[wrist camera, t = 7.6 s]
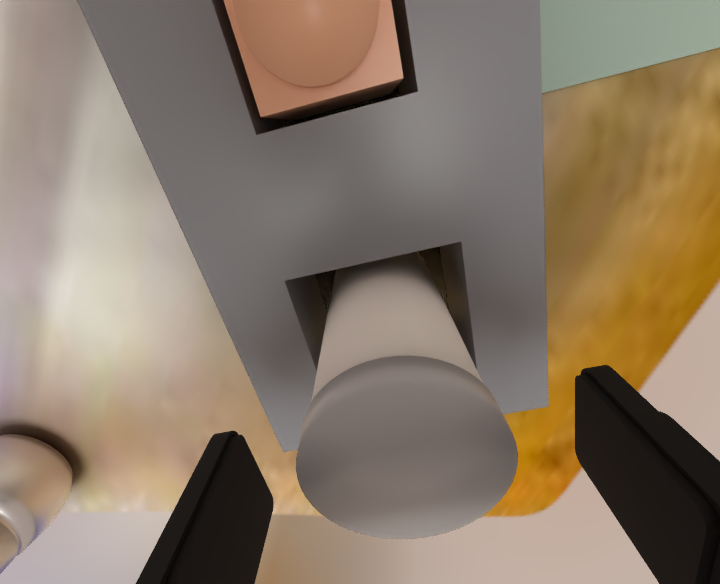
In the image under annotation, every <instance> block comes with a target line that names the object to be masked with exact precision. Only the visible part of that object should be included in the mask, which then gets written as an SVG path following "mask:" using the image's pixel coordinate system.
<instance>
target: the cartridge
mask: <svg viewBox="0 0 720 584" xmlns="http://www.w3.org/2000/svg"><path fill="white" fill-rule="evenodd" d="M517 464H518V452H517V446H516V442H515V439H514V437H513V434H512V432H511V430H510V428H509V426H508V424H507V422H506V420H505V418H504V416H503V414H502V412H501V410H500V408H499V406H498V404H497V402H496V400H495V398H494V397H493V395H492V393H491V392H490V391H489V389H488V388H487V387H486V386H485V385H484V384H483V382H482V380H481V378H480V376H479V373H478V371H477V369H476V367H475V365H474V363H473V361H472V359H471V357H470V355H469V353H468V350H467V348H466V346H465V344H464V342H463V340H462V338H461V336H460V334H459V332H458V330H457V328H456V325H455V323H454V321H453V319H452V317H451V315H450V313H449V311H448V309H447V307H446V305H445V302H444V300H443V298H442V296H441V294H440V292H439V290H438V288H437V286H436V284H435V282H434V279H433V277H432V275H431V273H430V271H429V269H428V267H427V265H426V263H425V261H424V260H423V258H422V257H421V256H420V254H419V253H418V252H417V251H416V252H412V253H407V254H403V255H398V256H394V257H389V258H385V259H380V260H376V261H371V262H367V263H362V264H358V265H353V266H349V267H344V268H340V269H336V272H335V276H334V281H333V287H332V292H331V298H330V303H329V308H328V314H327V319H326V325H325V330H324V335H323V341H322V346H321V352H320V357H319V362H318V368H317V373H316V379H315V384H314V389H313V395H312V400H311V404H310V405H309V407H308V410H307V412H306V415H305V418H304V423H303V427H302V432H301V437H300V443H299V448H298V453H297V458H296V472H297V478H298V481H299V484H300V487H301V489H302V491H303V493H304V495H305V497H306V498H307V499H308V501H309V502H310V503H311V504H312V506H313V507H314V508H315V509H317V510H318V511H319V512H320V513H321V514H322V515H324V516H325V517H326V518H328V519H329V520H331V521H332V522H334V523H336V524H338V525H339V526H342V527H344V528H346V529H348V530H351V531H354V532H357V533H360V534H364V535H368V536H372V537H379V538H386V539H416V538H425V537H430V536H436V535H439V534H443V533H447V532H450V531H453V530H456V529H458V528H461V527H463V526H465V525H467V524H469V523H471V522H473V521H475V520H476V519H478V518H480V517H481V516H483V515H484V514H485V513H487V512H488V511H489V510H491V509H492V508H493V507H494V506H495V505H496V504H497V503H498V502H499V501H500V500H501V499H502V497H503V496H504V495H505V494H506V492H507V490H508V489H509V487H510V485H511V484H512V481H513V479H514V476H515V474H516V469H517Z"/></svg>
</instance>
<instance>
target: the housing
mask: <svg viewBox="0 0 720 584" xmlns="http://www.w3.org/2000/svg"><path fill="white" fill-rule="evenodd" d="M77 1H78V3H79V5H80V7H81V10H82V12H83V14H84V16H85V18H86V21H87V23H88V25H89V27H90V29H91V32H92V34H93V36H94V38H95V40H96V43H97V45H98V47H99V49H100V51H101V54H102V56H103V58H104V60H105V62H106V64H107V67H108V69H109V71H110V73H111V75H112V78H113V80H114V82H115V84H116V86H117V89H118V91H119V93H120V95H121V97H122V100H123V102H124V104H125V106H126V108H127V111H128V113H129V115H130V117H131V119H132V121H133V124H134V126H135V128H136V130H137V132H138V135H139V137H140V139H141V141H142V143H143V146H144V148H145V150H146V152H147V154H148V157H149V159H150V161H151V163H152V165H153V168H154V170H155V172H156V174H157V176H158V179H159V181H160V183H161V185H162V187H163V189H164V192H165V194H166V196H167V198H168V200H169V203H170V205H171V207H172V209H173V211H174V214H175V216H176V218H177V220H178V222H179V225H180V227H181V229H182V231H183V233H184V236H185V238H186V240H187V242H188V244H189V246H190V249H191V251H192V253H193V255H194V257H195V260H196V262H197V264H198V266H199V268H200V271H201V273H202V275H203V277H204V279H205V282H206V284H207V286H208V288H209V290H210V293H211V295H212V297H213V299H214V301H215V304H216V306H217V308H218V310H219V312H220V314H221V317H222V319H223V321H224V323H225V325H226V328H227V330H228V332H229V334H230V336H231V339H232V341H233V343H234V345H235V347H236V350H237V352H238V354H239V356H240V358H241V361H242V363H243V365H244V367H245V369H246V371H247V374H248V376H249V378H250V380H251V382H252V385H253V387H254V389H255V391H256V393H257V396H258V398H259V400H260V402H261V404H262V407H263V409H264V411H265V413H266V415H267V418H268V420H269V422H270V424H271V426H272V428H273V431H274V433H275V435H276V437H277V439H278V442H279V444H280V446H281V448H282V450H283V452H287V451H292V450H298V448H299V443H300V437H301V432H302V427H303V423H304V418H305V415H306V412H307V410H308V407H309V405H310V404H311V400H312V395H313V389H314V384H315V379H316V373H317V368H318V362H319V357H320V352H321V346H322V341H323V335H324V330H325V325H326V319H327V311H326V308H325V305H324V302H323V298H322V295H321V292H320V289H319V286H318V283H317V279H316V276H315V274H318V273H322V272H327V271H331V270H335V269H340V268H344V267H349V266H353V265H358V264H362V263H367V262H371V261H376V260H380V259H385V258H389V257H394V256H398V255H403V254H407V253H412V252H416V251H421V250H425V249H430V248H434V247H439V246H440V253H441V260H442V266H443V273H444V280H445V286H446V293H447V300H448V306H449V313H450V315H451V317H452V319H453V321H454V323H455V325H456V328H457V330H458V332H459V334H460V336H461V338H462V340H463V342H464V344H465V346H466V348H467V350H468V353H469V355H470V357H471V359H472V361H473V363H474V365H475V367H476V369H477V371H478V373H479V376H480V378H481V380H482V382H483V384H484V385H485V386H486V387H487V388H488V389H489V391H490V392H491V393H492V395H493V397H494V398H495V400H496V402H497V404H498V406H499V408H500V410H501V412H502V414H507V413H513V412H519V411H525V410H531V409H536V408H542V407H548V361H547V313H546V265H545V217H544V169H543V121H542V73H541V25H540V0H391V2H392V9H393V15H394V21H395V27H396V34H397V40H398V46H399V52H400V58H401V65H402V71H403V77H404V78H403V79H402V81H401V82H400V83H399V84H398V89H399V95H400V97H396V98H393V99H389V100H385V101H381V102H378V103H374V104H370V105H366V106H363V107H359V108H355V109H352V110H348V111H344V112H340V113H337V114H333V115H329V116H325V117H322V118H318V119H314V120H311V121H307V122H303V123H299V124H296V125H292V126H288V127H285V124H284V120H281V119H273V118H264V117H260V113H259V110H258V107H257V104H256V101H255V98H254V95H253V91H252V88H251V85H250V82H249V79H248V76H247V73H246V69H245V66H244V63H243V60H242V57H241V54H240V51H239V48H238V44H237V41H236V38H235V35H234V32H233V29H232V26H231V22H230V19H229V16H228V13H227V10H226V7H225V4H224V0H77Z"/></svg>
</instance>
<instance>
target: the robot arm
mask: <svg viewBox="0 0 720 584" xmlns="http://www.w3.org/2000/svg"><path fill="white" fill-rule="evenodd" d="M575 451H576V455H577V458H578V460H579V462H580V464H581V466H582V467H583V469H584V470H585V471H586V473H587V475H588V476H589V478H590V479H591V481H592V482H593V484H594V485H595V486H596V488H597V490H598V491H599V493H600V494H601V496H602V497H603V498H604V500H605V502H606V503H607V505H608V506H609V508H610V509H611V511H612V512H613V514H614V515H615V517H616V519H617V520H618V522H619V523H620V525H621V526H622V528H623V529H624V530H625V532H626V534H627V535H628V537H629V538H630V540H631V541H632V543H633V544H634V546H635V547H636V549H637V550H638V552H639V553H640V555H641V556H642V558H643V559H644V561H645V562H646V564H647V565H648V567H649V569H650V570H651V571H652V573H653V575H654V576H655V578H656V579H657V581H658V582H659V584H720V461H719V460H717V459H716V458H715V457H714V456H713V455H712V454H711V453H710V452H708V450H706V449H705V448H704V447H703V446H702V445H701V444H700V443H699V442H698V441H697V440H695V439H694V438H693V437H692V436H691V435H690V434H689V433H688V432H687V431H686V430H685V429H683V428H682V427H681V426H680V425H679V424H678V423H677V422H676V421H675V420H674V419H672V418H671V417H670V416H668V415H667V414H665V413H663V412H659V411H657V410H656V409H655V408H654V407H653V406H652V405H651V404H650V403H649V402H648V401H647V400H646V399H645V398H643V397H642V396H641V395H640V394H639V393H638V392H637V391H636V390H635V389H634V388H633V387H632V386H631V385H630V384H628V383H627V382H626V381H625V380H624V379H623V378H622V377H621V376H620V375H619V374H618V373H617V372H616V371H614V370H613V369H612V368H611V367H610V366H608V365H602V366H597V367H591V368H585V369H582V371H581V375H579V376H576V378H575ZM272 511H273V497H272V494H271V492H270V490H269V488H268V486H267V484H266V482H265V480H264V478H263V476H262V474H261V472H260V469H259V467H258V465H257V463H256V461H255V459H254V457H253V455H252V453H251V451H250V449H249V447H248V445H247V443H246V441H245V438H244V437H243V436H242V435H238V433H237V432H236V431H229V432H223V433H218V434H215V435H213V436H212V438H211V439H210V441H209V443H208V445H207V447H206V449H205V451H204V453H203V455H202V457H201V459H200V461H199V463H198V465H197V466H196V468H195V470H194V472H193V474H192V476H191V478H190V480H189V482H188V484H187V486H186V488H185V490H184V492H183V494H182V495H181V497H180V499H179V501H178V503H177V505H176V507H175V509H174V511H173V513H172V515H171V517H170V519H169V521H168V523H167V524H166V526H165V528H164V530H163V532H162V534H161V536H160V538H159V540H158V542H157V544H156V546H155V548H154V550H153V552H152V553H151V555H150V557H149V559H148V561H147V563H146V565H145V567H144V569H143V571H142V573H141V575H140V577H139V579H138V580H137V582H136V584H254V583H255V579H256V575H257V571H258V567H259V563H260V559H261V555H262V551H263V547H264V543H265V539H266V535H267V531H268V527H269V523H270V519H271V515H272Z"/></svg>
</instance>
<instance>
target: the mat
mask: <svg viewBox="0 0 720 584" xmlns="http://www.w3.org/2000/svg"><path fill="white" fill-rule="evenodd" d="M540 25H541V73H542V93H546V92H549V91H553V90H557V89H561V88H565V87H569V86H573V85H577V84H580V83H584V82H588V81H592V80H596V79H600V78H604V77H607V76H611V75H615V74H619V73H623V72H627V71H631V70H634V69H638V68H642V67H646V66H650V65H654V64H658V63H662V62H665V61H669V60H673V59H677V58H681V57H685V56H689V55H692V54H696V53H700V52H704V51H708V50H712V49H716V48H720V0H540Z"/></svg>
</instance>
